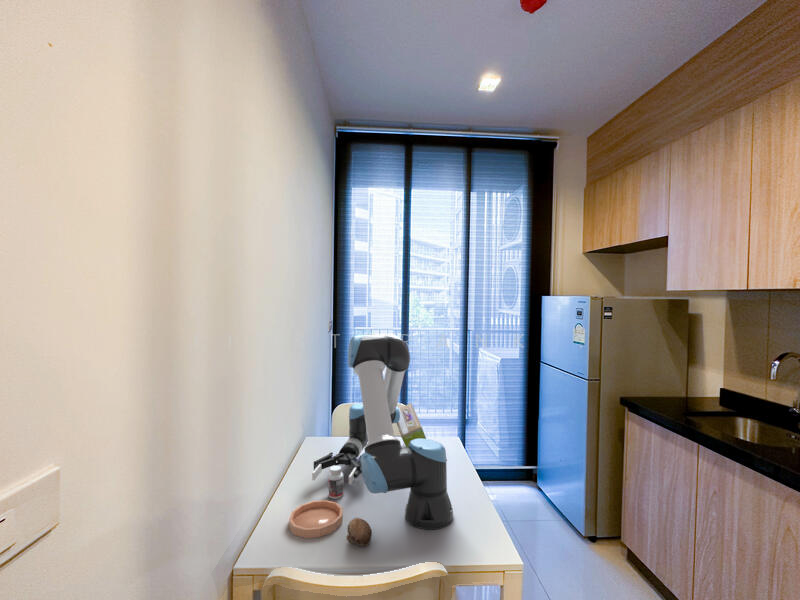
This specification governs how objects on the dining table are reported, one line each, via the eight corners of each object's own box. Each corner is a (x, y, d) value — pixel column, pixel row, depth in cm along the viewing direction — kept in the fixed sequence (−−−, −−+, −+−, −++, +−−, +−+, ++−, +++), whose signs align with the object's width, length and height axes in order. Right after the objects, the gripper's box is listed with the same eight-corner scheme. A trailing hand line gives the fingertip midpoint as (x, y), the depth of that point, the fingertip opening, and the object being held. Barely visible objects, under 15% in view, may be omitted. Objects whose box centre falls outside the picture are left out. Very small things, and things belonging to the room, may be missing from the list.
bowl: (351, 524, 113) (351, 516, 114) (301, 544, 104) (301, 536, 104) (329, 502, 126) (329, 495, 127) (282, 518, 117) (282, 511, 117)
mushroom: (336, 531, 105) (349, 514, 105) (353, 529, 111) (365, 512, 111) (350, 557, 99) (364, 538, 99) (368, 552, 106) (381, 535, 106)
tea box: (399, 429, 179) (391, 410, 171) (418, 421, 180) (411, 401, 172) (409, 455, 167) (400, 435, 159) (429, 446, 168) (422, 426, 160)
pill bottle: (325, 496, 131) (324, 468, 131) (337, 490, 135) (336, 463, 135) (335, 501, 127) (334, 472, 128) (346, 494, 132) (346, 467, 132)
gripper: (380, 463, 148) (365, 492, 127) (322, 457, 153) (298, 485, 132) (380, 445, 148) (365, 471, 127) (321, 439, 153) (298, 464, 132)
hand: (331, 478), depth 130 cm, fingers open, 13 cm apart
